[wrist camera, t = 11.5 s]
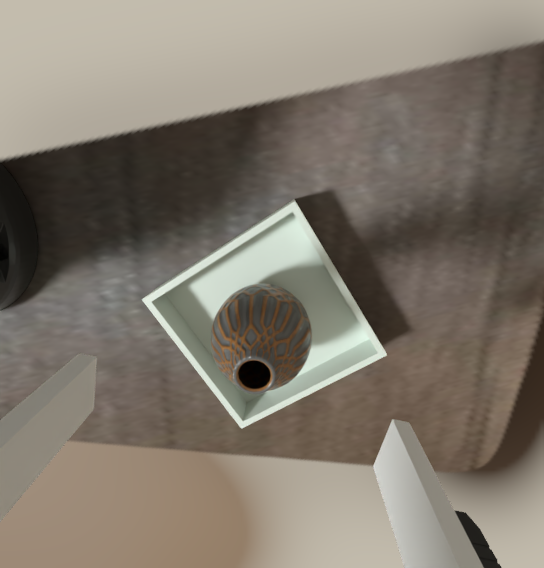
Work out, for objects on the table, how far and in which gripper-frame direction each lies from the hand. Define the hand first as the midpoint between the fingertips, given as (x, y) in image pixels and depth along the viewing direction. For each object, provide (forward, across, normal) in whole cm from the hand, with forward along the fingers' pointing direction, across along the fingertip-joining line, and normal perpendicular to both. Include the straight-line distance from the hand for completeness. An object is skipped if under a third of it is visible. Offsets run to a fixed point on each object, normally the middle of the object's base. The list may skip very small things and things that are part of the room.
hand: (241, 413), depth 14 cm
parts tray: (+13, +1, 0) cm, 13 cm away
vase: (+12, 0, 0) cm, 13 cm away
